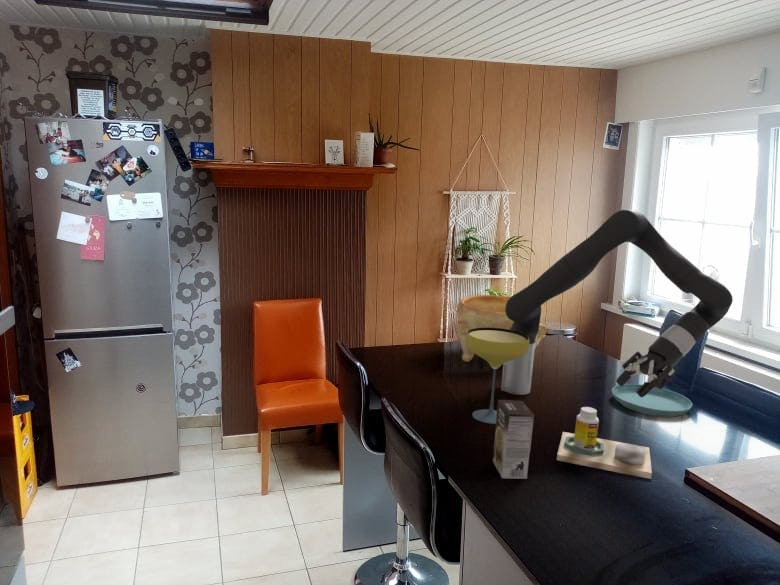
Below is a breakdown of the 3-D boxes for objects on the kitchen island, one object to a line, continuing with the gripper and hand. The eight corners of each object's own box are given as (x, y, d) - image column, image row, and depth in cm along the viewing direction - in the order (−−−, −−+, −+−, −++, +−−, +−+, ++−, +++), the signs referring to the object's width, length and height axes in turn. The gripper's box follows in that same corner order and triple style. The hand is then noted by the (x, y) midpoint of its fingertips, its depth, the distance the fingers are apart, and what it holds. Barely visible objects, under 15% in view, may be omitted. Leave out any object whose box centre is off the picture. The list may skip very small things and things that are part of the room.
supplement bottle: (586, 453, 155) (590, 415, 153) (568, 444, 159) (573, 407, 158) (600, 448, 158) (604, 411, 156) (582, 440, 163) (587, 404, 161)
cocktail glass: (523, 411, 186) (531, 331, 182) (519, 433, 169) (528, 346, 165) (464, 402, 191) (471, 324, 186) (455, 423, 174) (461, 338, 169)
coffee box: (491, 461, 151) (497, 399, 148) (516, 461, 151) (522, 399, 149) (501, 479, 142) (507, 413, 139) (528, 479, 143) (534, 413, 140)
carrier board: (556, 460, 153) (558, 445, 153) (562, 436, 168) (563, 423, 168) (651, 478, 146) (653, 463, 145) (648, 452, 161) (650, 438, 160)
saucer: (643, 422, 183) (645, 411, 183) (595, 394, 206) (596, 385, 205) (708, 417, 190) (710, 407, 190) (655, 391, 213) (656, 382, 212)
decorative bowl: (433, 347, 253) (436, 293, 249) (508, 345, 264) (513, 293, 260) (467, 373, 221) (472, 311, 217) (551, 369, 232) (557, 310, 228)
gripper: (646, 329, 165) (604, 371, 164) (683, 343, 152) (638, 389, 151) (661, 348, 167) (619, 389, 167) (698, 363, 154) (653, 408, 153)
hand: (628, 389), depth 159 cm, fingers open, 8 cm apart
